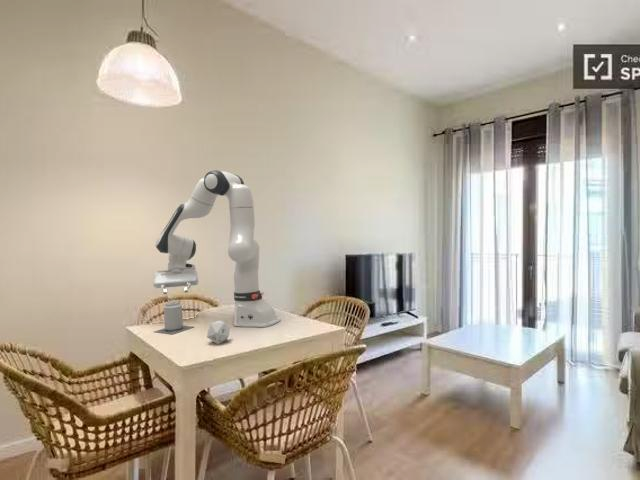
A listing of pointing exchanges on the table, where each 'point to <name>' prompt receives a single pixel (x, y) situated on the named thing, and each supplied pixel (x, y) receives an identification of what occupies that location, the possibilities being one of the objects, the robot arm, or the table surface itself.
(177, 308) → the can
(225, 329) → the die
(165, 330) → the mat
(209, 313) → the table surface
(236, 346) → the table surface
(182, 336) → the table surface
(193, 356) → the table surface
